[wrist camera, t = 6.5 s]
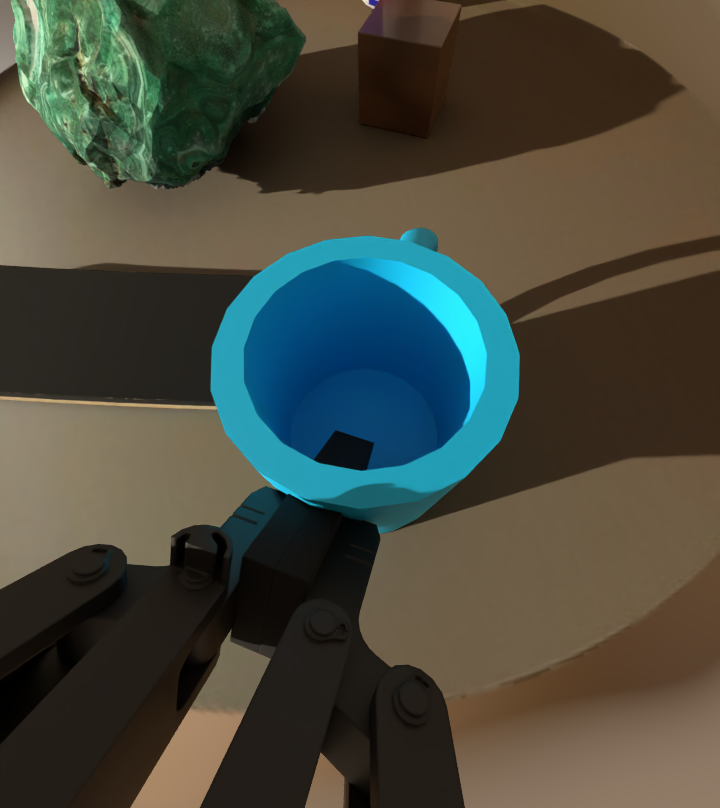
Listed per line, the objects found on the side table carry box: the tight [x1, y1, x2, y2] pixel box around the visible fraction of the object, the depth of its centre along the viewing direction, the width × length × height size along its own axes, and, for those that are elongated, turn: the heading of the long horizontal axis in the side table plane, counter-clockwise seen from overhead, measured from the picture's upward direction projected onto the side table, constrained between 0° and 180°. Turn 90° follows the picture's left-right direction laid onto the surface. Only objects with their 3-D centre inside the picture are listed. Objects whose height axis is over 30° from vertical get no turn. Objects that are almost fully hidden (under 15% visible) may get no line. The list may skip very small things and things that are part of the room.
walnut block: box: [358, 0, 461, 138], centre depth 25 cm, size 5×5×5 cm
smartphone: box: [0, 265, 254, 409], centre depth 19 cm, size 7×1×15 cm
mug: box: [211, 228, 520, 533], centre depth 15 cm, size 12×8×8 cm
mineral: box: [11, 0, 306, 189], centre depth 22 cm, size 18×16×10 cm
